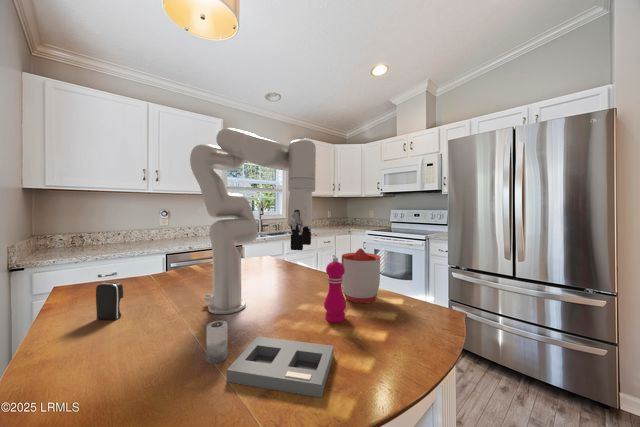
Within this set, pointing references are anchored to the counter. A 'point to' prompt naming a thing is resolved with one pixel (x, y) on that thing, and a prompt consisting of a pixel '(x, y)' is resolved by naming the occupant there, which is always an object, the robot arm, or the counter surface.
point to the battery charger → (108, 300)
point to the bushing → (216, 342)
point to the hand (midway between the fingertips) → (301, 247)
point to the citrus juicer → (361, 276)
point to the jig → (283, 366)
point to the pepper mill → (335, 292)
